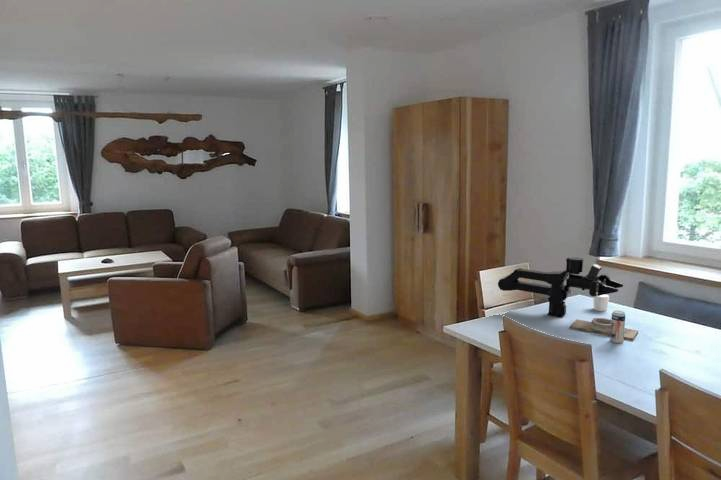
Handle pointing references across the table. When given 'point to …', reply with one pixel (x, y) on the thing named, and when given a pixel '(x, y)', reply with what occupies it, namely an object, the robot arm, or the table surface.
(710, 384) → the table surface
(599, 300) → the white cup
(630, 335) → the socket board
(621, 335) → the beer can
